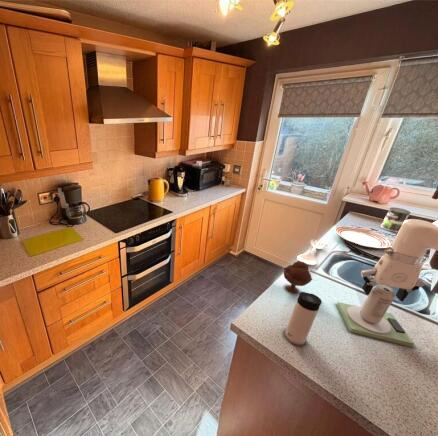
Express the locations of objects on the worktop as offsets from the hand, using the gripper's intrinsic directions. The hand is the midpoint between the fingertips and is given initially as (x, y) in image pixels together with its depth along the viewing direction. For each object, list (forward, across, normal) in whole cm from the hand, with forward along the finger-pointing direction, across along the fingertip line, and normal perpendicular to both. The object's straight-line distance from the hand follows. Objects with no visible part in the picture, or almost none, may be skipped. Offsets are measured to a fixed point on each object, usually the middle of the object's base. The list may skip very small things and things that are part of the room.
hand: (381, 295), depth 83 cm
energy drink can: (+12, 0, 0) cm, 12 cm away
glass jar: (+15, +54, +105) cm, 119 cm away
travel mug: (+14, -28, -17) cm, 36 cm away
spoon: (+14, -7, +48) cm, 50 cm away
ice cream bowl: (+14, -24, +11) cm, 30 cm away
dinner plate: (+15, +26, +78) cm, 84 cm away
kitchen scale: (+14, +1, 0) cm, 14 cm away
